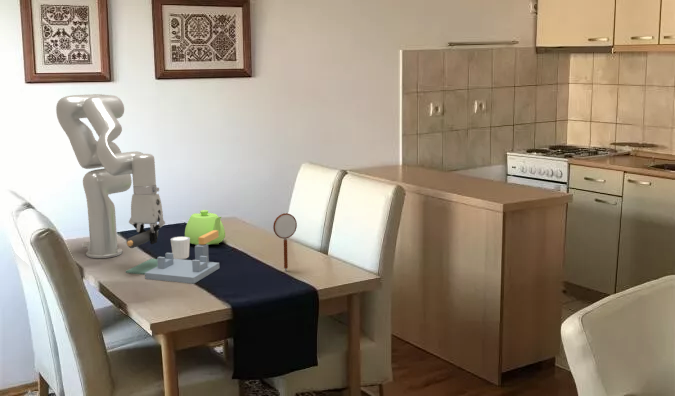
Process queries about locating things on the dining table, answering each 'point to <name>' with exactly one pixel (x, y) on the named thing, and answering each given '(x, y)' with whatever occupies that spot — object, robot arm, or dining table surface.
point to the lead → (139, 239)
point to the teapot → (204, 227)
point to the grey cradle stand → (183, 267)
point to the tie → (208, 237)
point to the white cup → (180, 247)
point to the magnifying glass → (285, 231)
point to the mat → (143, 267)
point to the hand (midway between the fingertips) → (148, 242)
